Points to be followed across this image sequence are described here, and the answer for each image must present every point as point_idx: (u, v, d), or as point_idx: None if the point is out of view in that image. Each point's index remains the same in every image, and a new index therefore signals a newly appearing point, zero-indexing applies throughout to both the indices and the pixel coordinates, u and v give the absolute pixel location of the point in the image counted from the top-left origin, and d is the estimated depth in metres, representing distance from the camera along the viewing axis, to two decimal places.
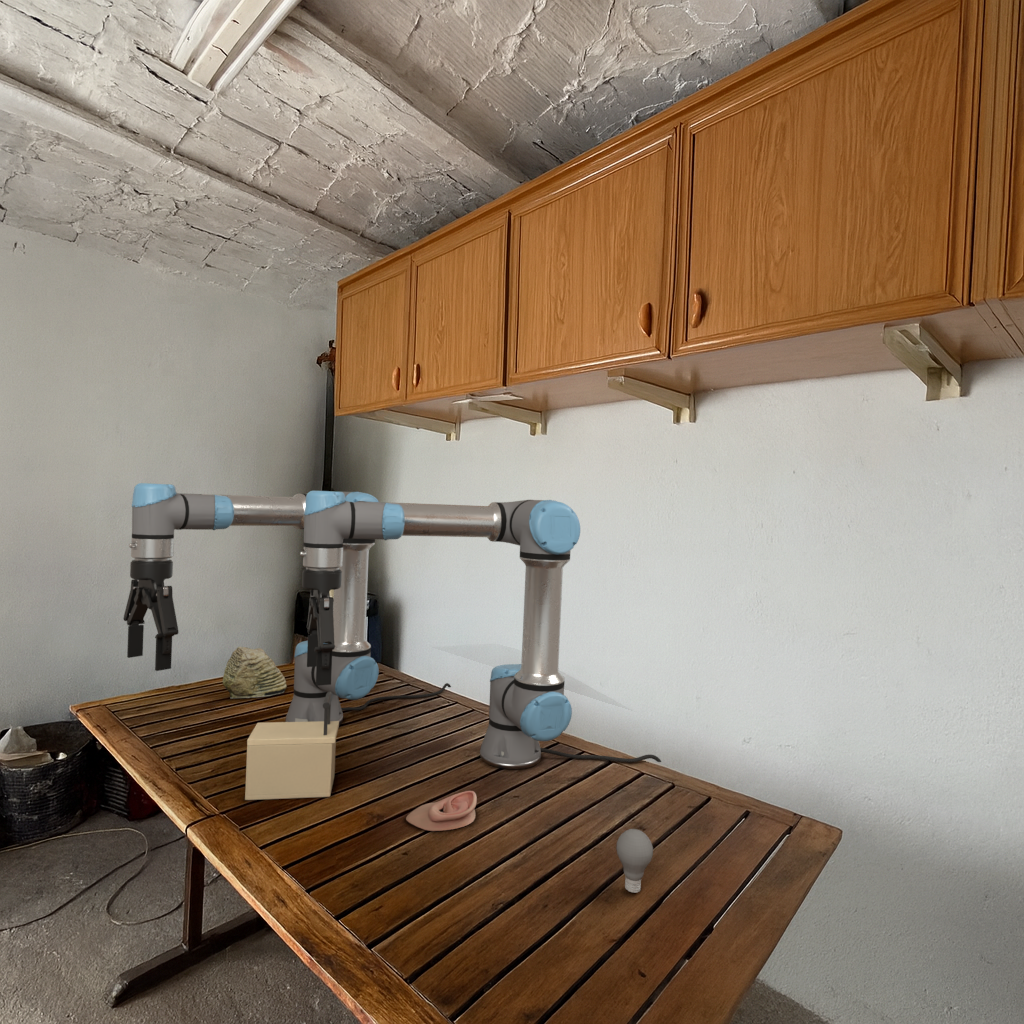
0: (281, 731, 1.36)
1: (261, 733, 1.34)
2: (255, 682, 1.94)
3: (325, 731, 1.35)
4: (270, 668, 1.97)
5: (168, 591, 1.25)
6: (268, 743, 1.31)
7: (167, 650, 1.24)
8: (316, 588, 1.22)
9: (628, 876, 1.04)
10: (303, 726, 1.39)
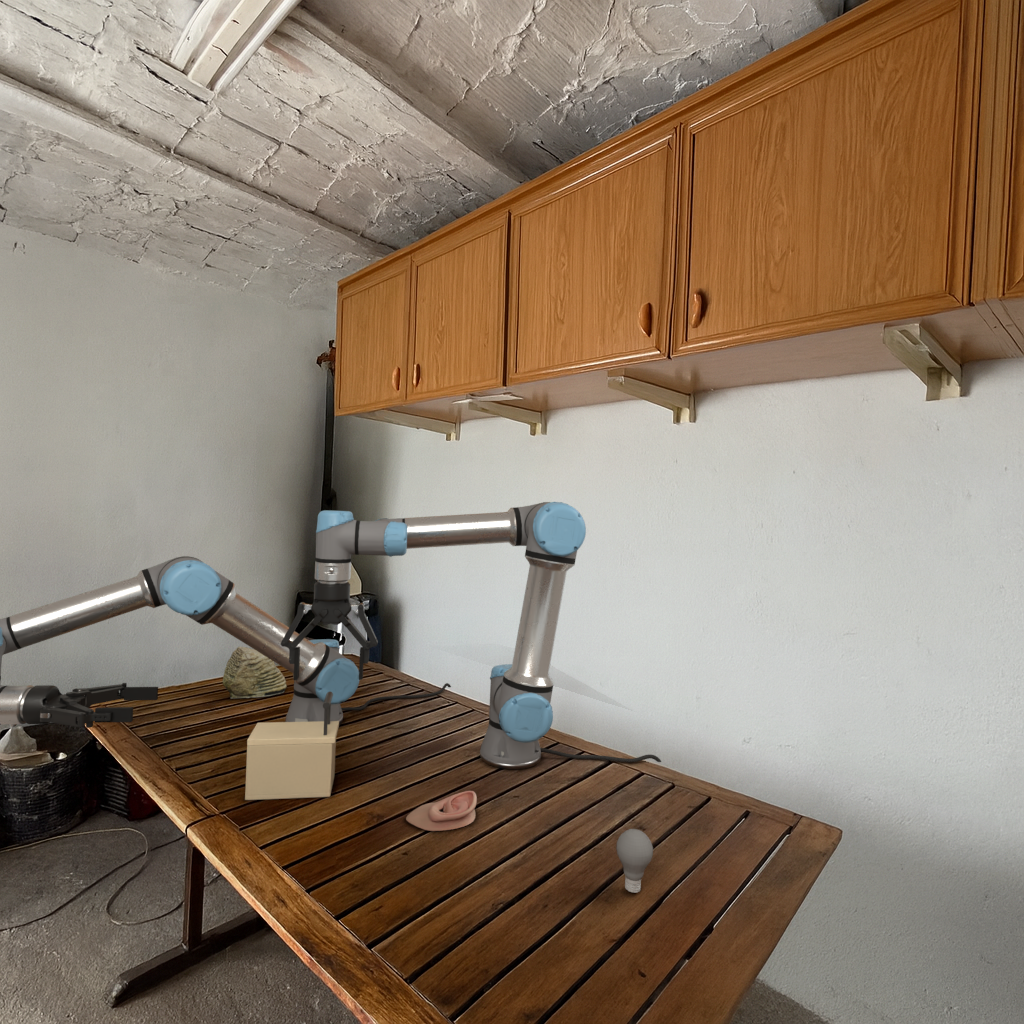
0: (281, 731, 1.36)
1: (261, 733, 1.34)
2: (255, 682, 1.94)
3: (325, 731, 1.35)
4: (270, 668, 1.97)
5: (44, 713, 1.22)
6: (268, 743, 1.31)
7: (106, 717, 1.23)
8: (347, 598, 1.37)
9: (628, 876, 1.04)
10: (303, 726, 1.39)
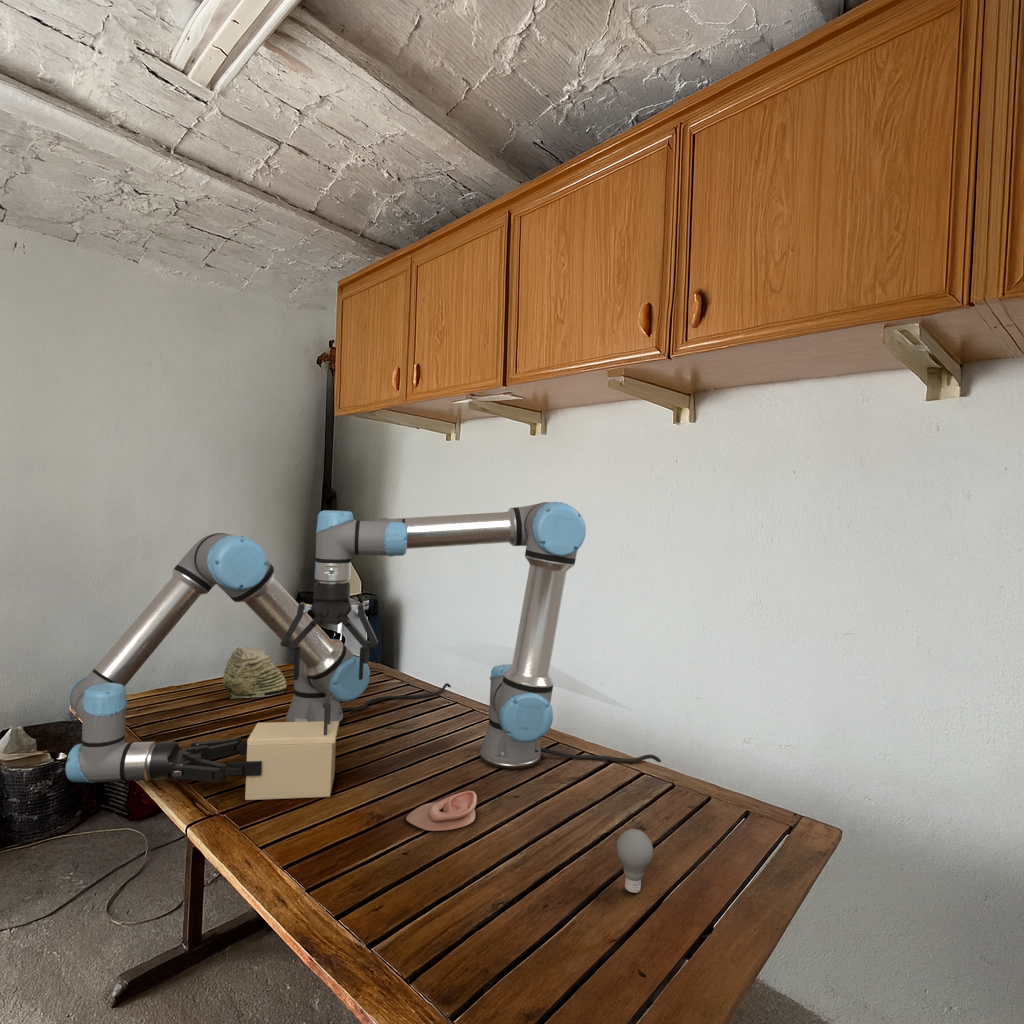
0: (281, 731, 1.36)
1: (261, 733, 1.34)
2: (255, 682, 1.94)
3: (325, 731, 1.35)
4: (270, 668, 1.97)
5: (176, 771, 1.27)
6: (268, 743, 1.31)
7: (238, 771, 1.29)
8: (347, 598, 1.37)
9: (628, 876, 1.04)
10: (303, 726, 1.39)
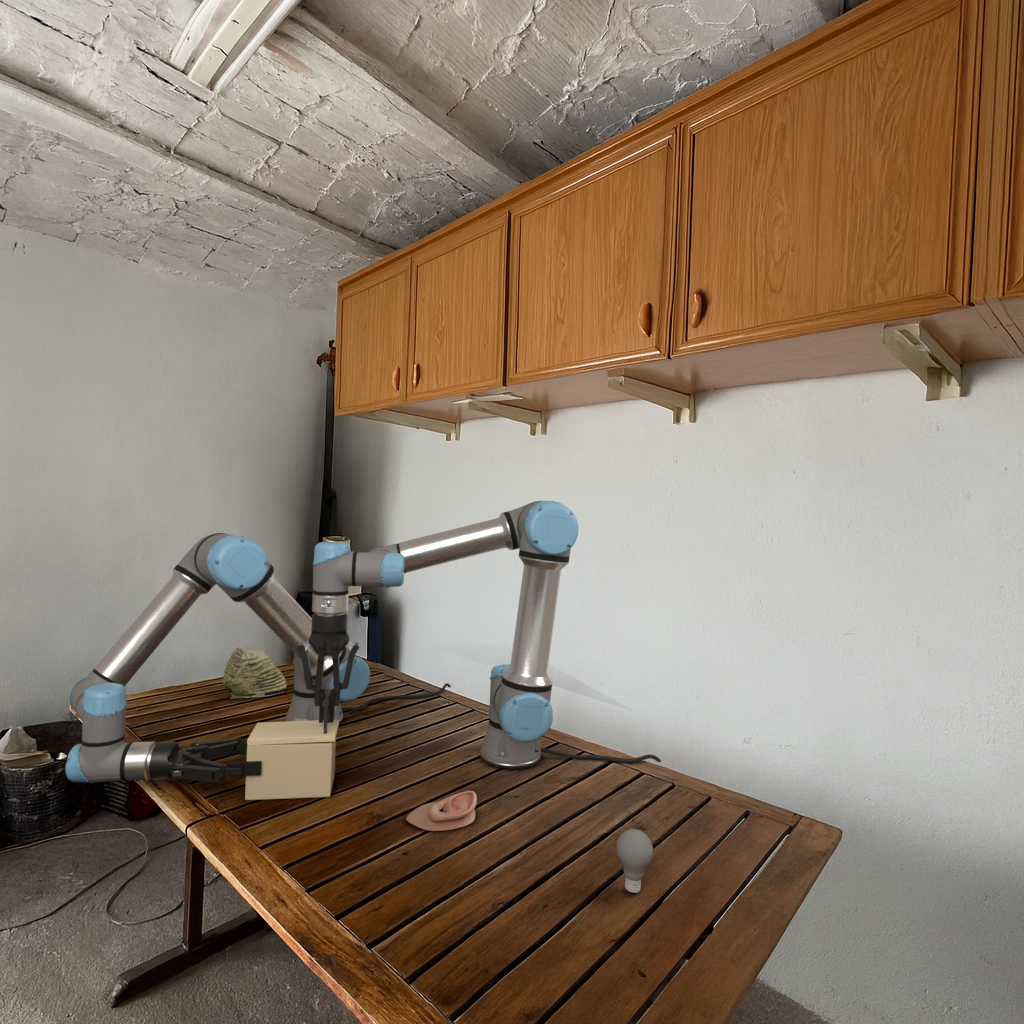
0: (280, 730, 1.36)
1: (261, 733, 1.34)
2: (255, 682, 1.94)
3: (325, 729, 1.35)
4: (270, 668, 1.97)
5: (176, 771, 1.27)
6: (268, 743, 1.31)
7: (238, 771, 1.29)
8: (345, 630, 1.37)
9: (628, 876, 1.04)
10: (303, 725, 1.39)
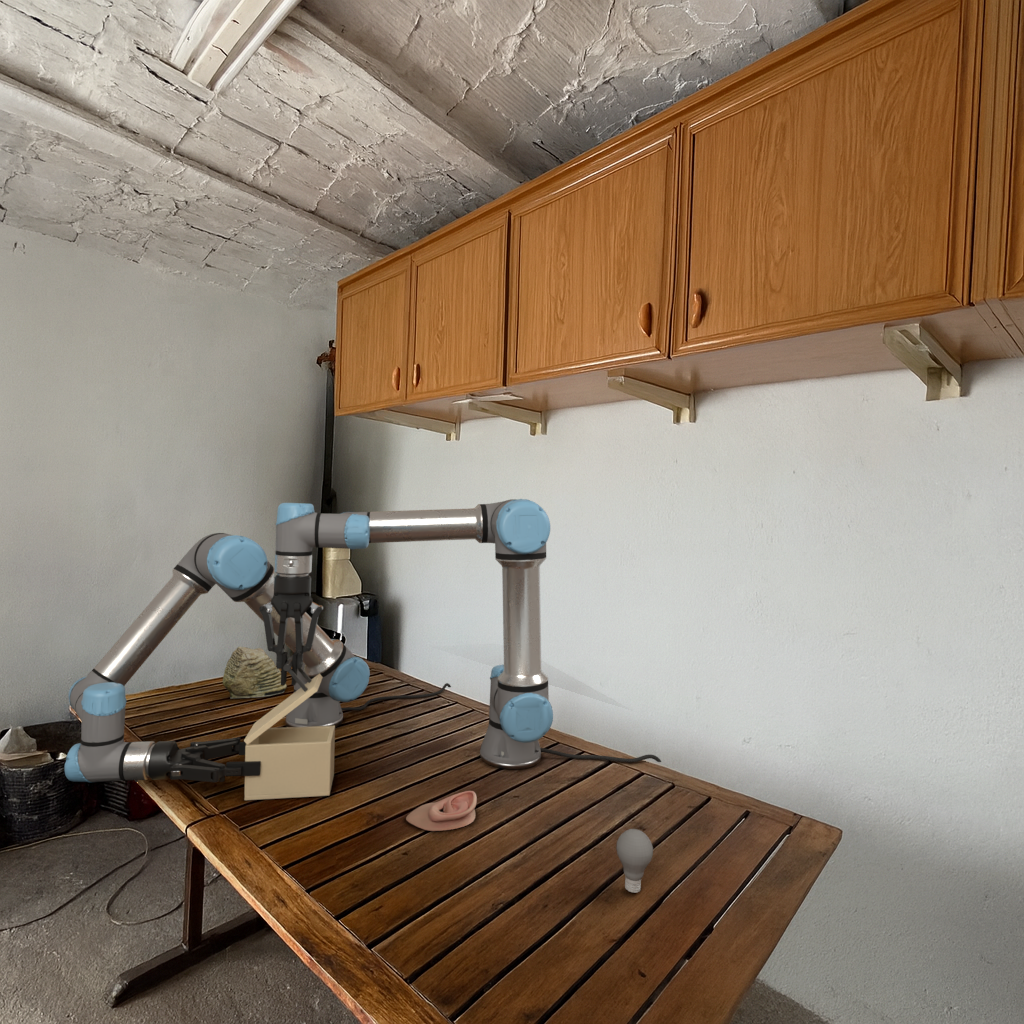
0: (271, 714, 1.36)
1: (255, 728, 1.34)
2: (255, 682, 1.94)
3: (304, 687, 1.34)
4: (270, 668, 1.97)
5: (175, 771, 1.27)
6: (263, 730, 1.31)
7: (237, 771, 1.29)
8: (308, 591, 1.35)
9: (628, 876, 1.04)
10: (290, 698, 1.38)
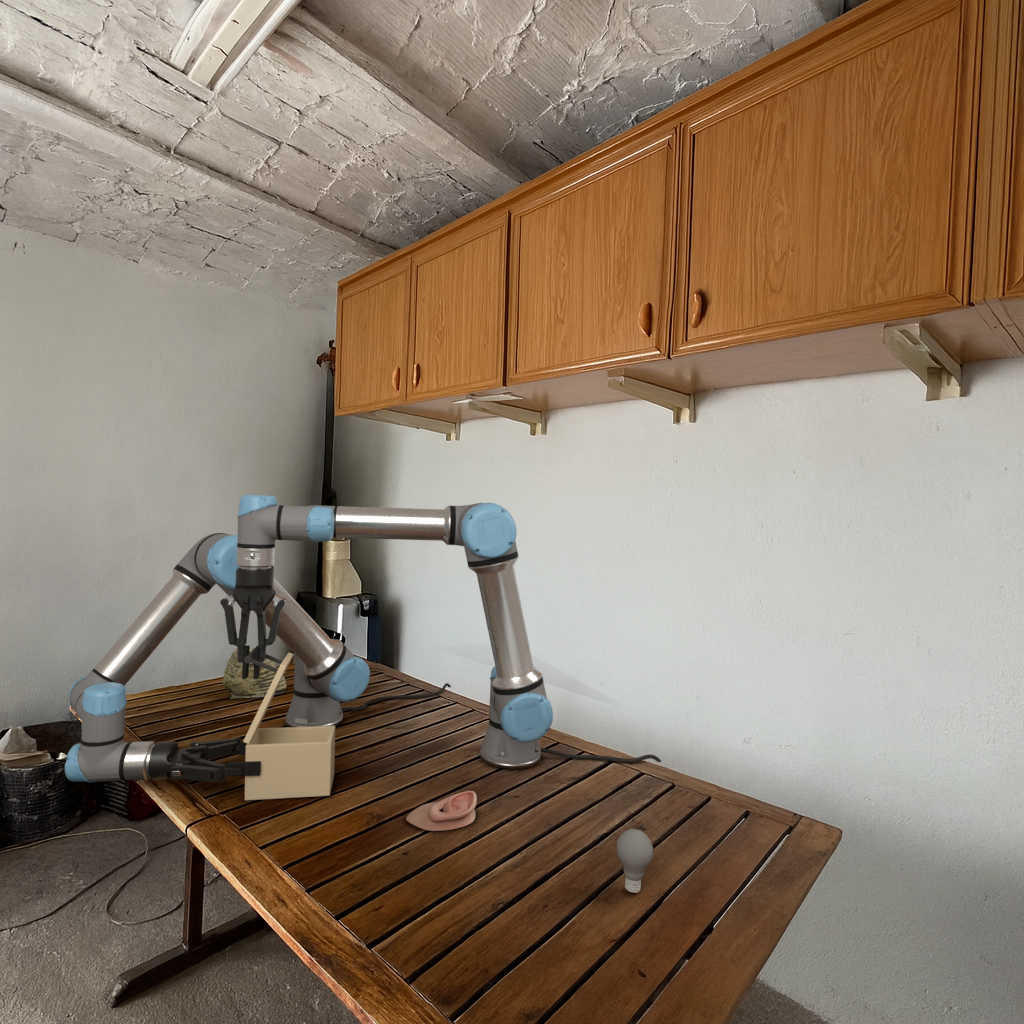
0: None
1: None
2: (255, 682, 1.94)
3: (273, 669, 1.32)
4: None
5: (175, 771, 1.27)
6: (256, 724, 1.31)
7: (238, 771, 1.29)
8: (270, 584, 1.34)
9: (628, 876, 1.04)
10: None
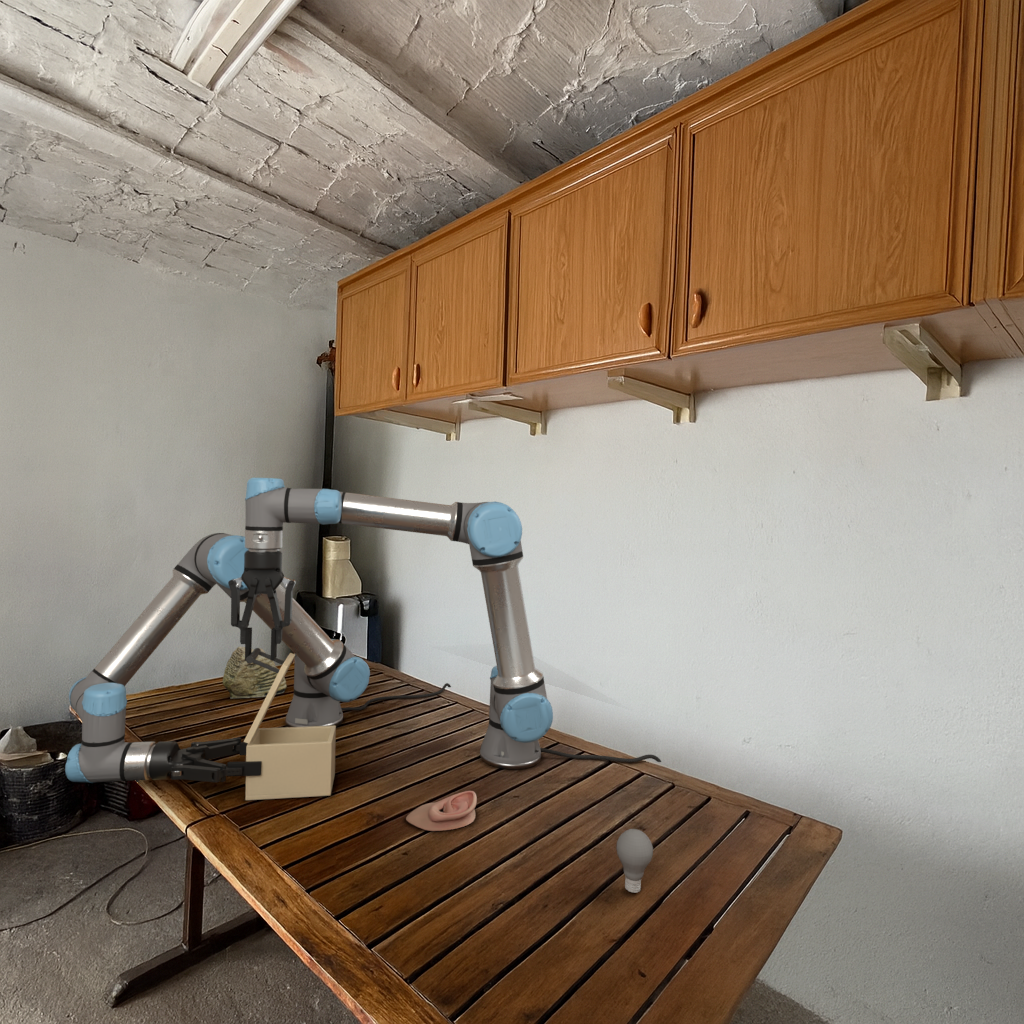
0: None
1: None
2: (255, 682, 1.94)
3: (275, 670, 1.33)
4: None
5: (176, 771, 1.27)
6: (256, 724, 1.31)
7: (238, 771, 1.29)
8: (278, 567, 1.34)
9: (628, 876, 1.04)
10: None
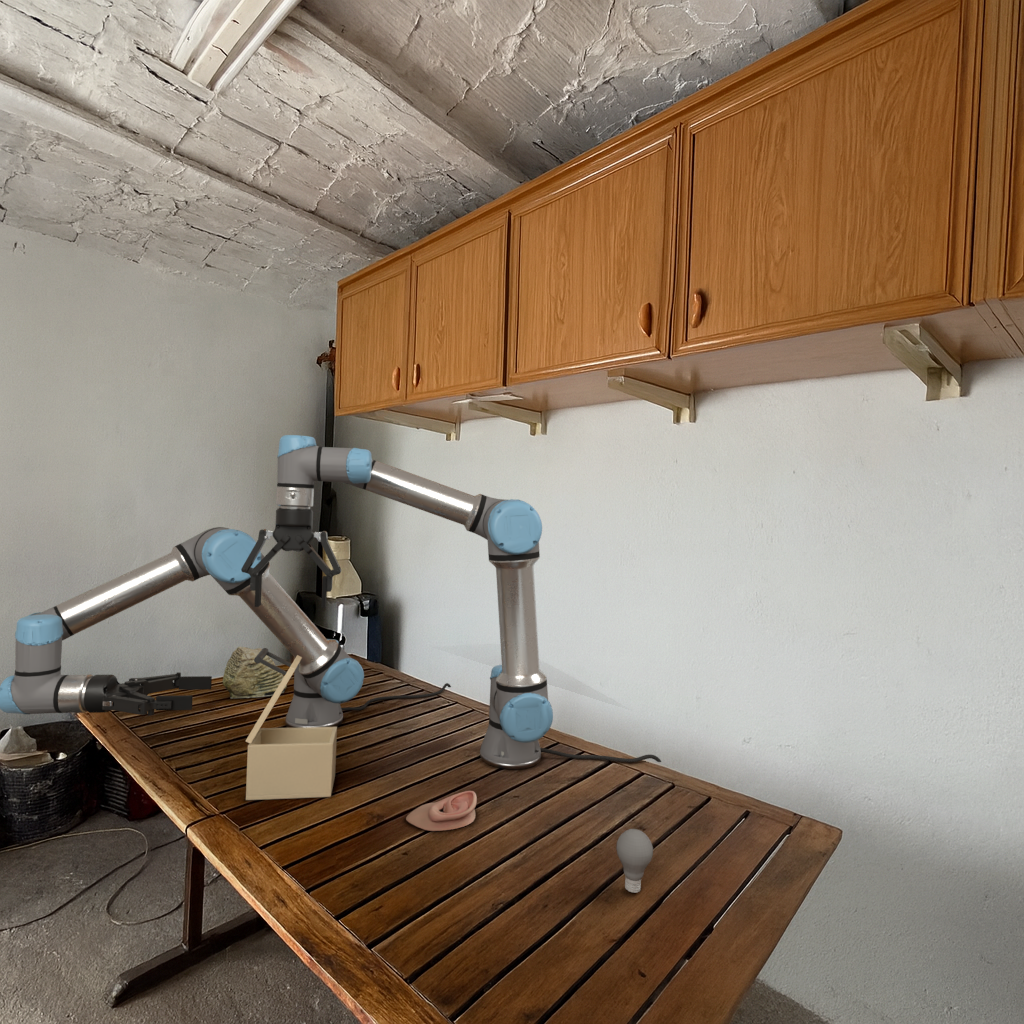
0: None
1: None
2: (255, 682, 1.94)
3: (282, 672, 1.33)
4: (270, 668, 1.97)
5: (107, 701, 1.24)
6: (259, 725, 1.31)
7: (167, 705, 1.25)
8: (309, 524, 1.35)
9: (628, 876, 1.04)
10: None
